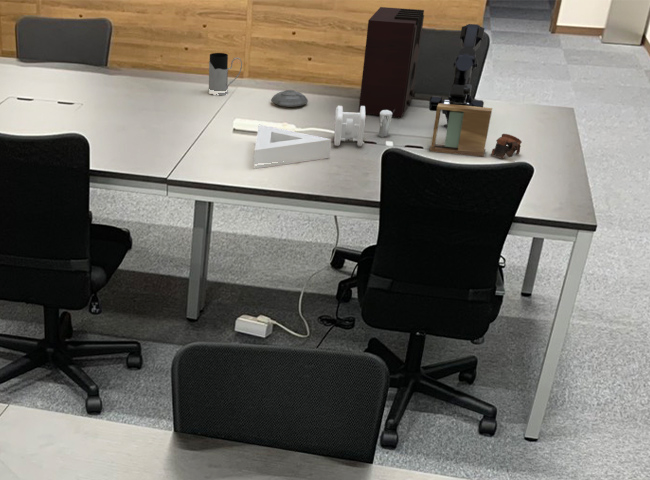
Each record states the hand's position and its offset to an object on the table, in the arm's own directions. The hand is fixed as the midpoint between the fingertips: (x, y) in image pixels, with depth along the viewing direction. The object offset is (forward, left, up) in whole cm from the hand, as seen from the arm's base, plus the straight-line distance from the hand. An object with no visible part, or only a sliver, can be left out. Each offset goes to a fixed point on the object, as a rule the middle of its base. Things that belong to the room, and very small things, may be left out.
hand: (451, 127), depth 348 cm
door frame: (+1, +5, -7) cm, 9 cm away
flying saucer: (+10, -76, -7) cm, 77 cm away
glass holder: (+21, -105, -7) cm, 108 cm away
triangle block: (+55, -32, -7) cm, 64 cm away
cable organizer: (+26, -25, -7) cm, 37 cm away
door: (-1, +4, -5) cm, 7 cm away
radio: (-19, -49, -7) cm, 53 cm away
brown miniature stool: (-9, +19, -7) cm, 22 cm away
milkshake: (+9, -23, -7) cm, 26 cm away
